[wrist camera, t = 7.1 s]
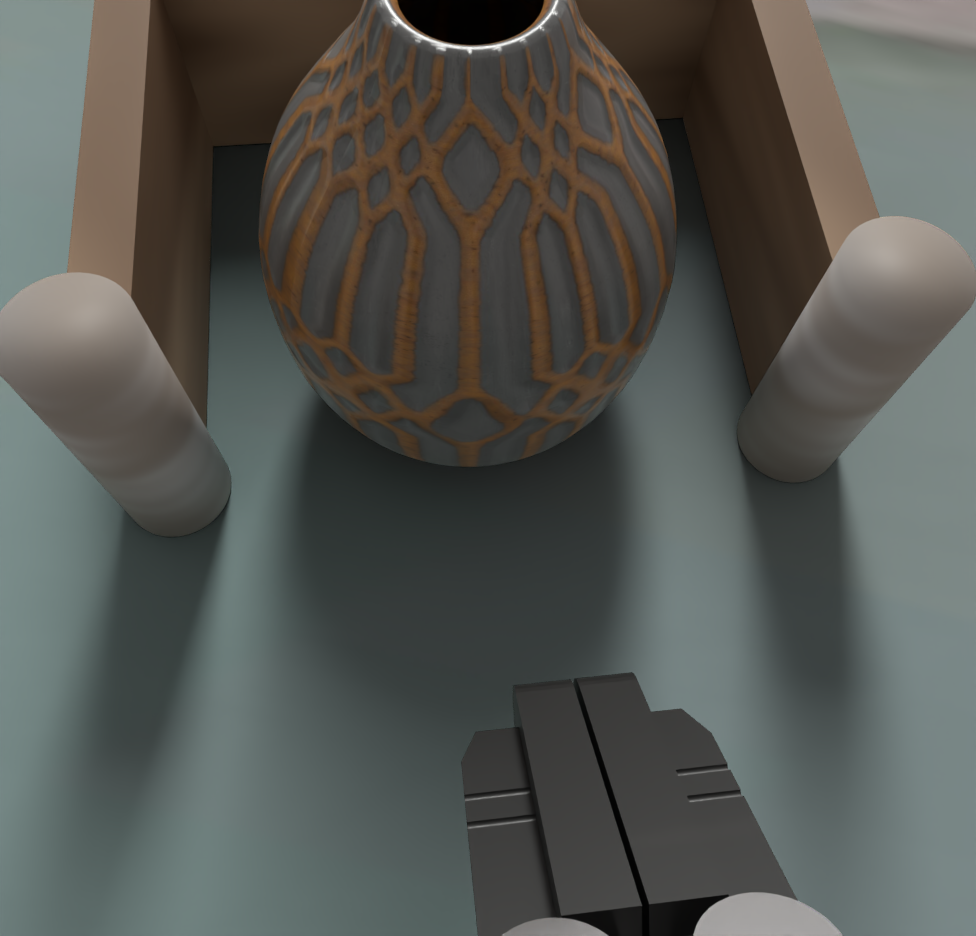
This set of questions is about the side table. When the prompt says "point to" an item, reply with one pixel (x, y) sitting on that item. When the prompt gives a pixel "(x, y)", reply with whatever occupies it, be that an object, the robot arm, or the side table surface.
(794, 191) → the housing
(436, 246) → the vase
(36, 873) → the side table surface
